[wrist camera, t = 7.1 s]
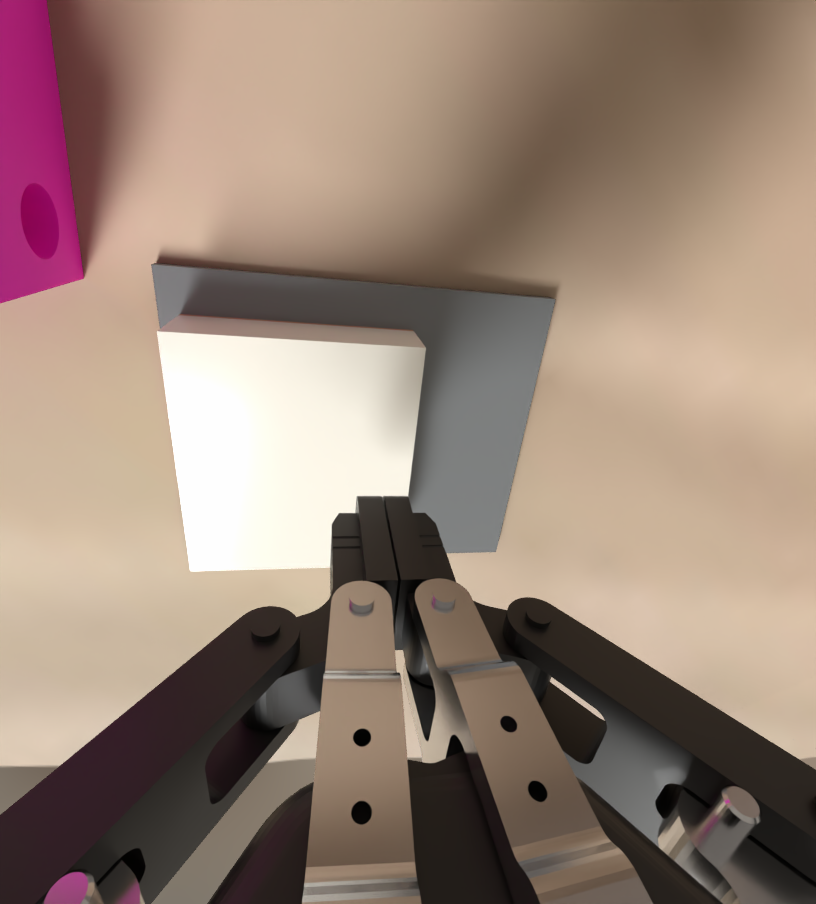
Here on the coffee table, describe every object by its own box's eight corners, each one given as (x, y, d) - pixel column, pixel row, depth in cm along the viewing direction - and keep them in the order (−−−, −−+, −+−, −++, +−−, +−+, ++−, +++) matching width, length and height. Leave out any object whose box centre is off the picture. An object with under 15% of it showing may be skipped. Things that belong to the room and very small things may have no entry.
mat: (551, 297, 18) (555, 299, 17) (493, 546, 23) (495, 552, 23) (155, 263, 15) (151, 264, 15) (193, 553, 21) (191, 559, 20)
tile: (426, 347, 15) (156, 331, 13) (399, 565, 19) (190, 571, 18) (412, 330, 17) (180, 313, 16) (391, 528, 21) (205, 530, 20)
